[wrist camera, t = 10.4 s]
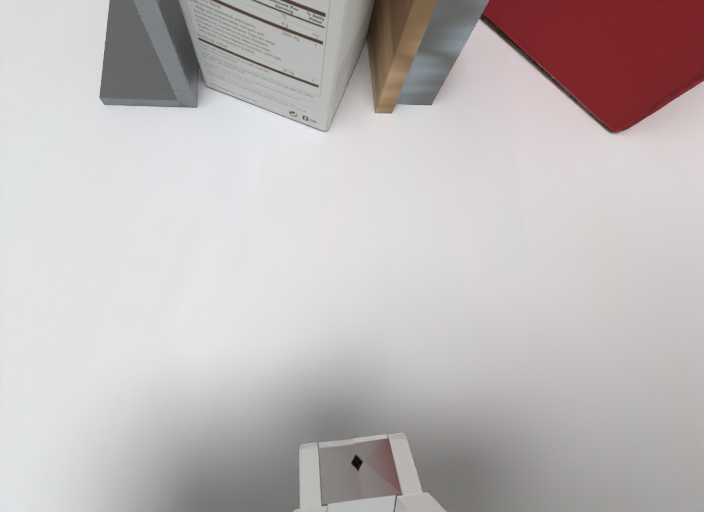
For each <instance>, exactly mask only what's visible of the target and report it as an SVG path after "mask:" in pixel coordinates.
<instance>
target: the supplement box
mask: <svg viewBox="0 0 704 512" xmlns="http://www.w3.org/2000/svg"><path fill="white" fill-rule="evenodd" d="M374 1H375V0H179V3H180V6H181V9H182V12H183V15H184V18H185V21H186V25H187V28H188V31H189V34H190V37H191V40H192V43H193V46H194V49H195V53H196V56H197V59H198V62H199V65H200V68H201V71H202V74H203V77H204V80H205V84H206V85H207V86H208V87H211V88H213V89H216V90H218V91H221V92H223V93H226V94H228V95H231V96H234V97H236V98H239V99H241V100H244V101H247V102H249V103H252V104H254V105H257V106H259V107H262V108H265V109H267V110H270V111H272V112H275V113H278V114H280V115H283V116H285V117H288V118H291V119H293V120H296V121H299V122H301V123H304V124H306V125H309V126H311V127H314V128H317V129H319V130H322V131H327V130H328V128H329V126H330V124H331V122H332V119H333V117H334V115H335V112H336V110H337V108H338V105H339V103H340V101H341V98H342V96H343V93H344V91H345V89H346V86H347V84H348V82H349V79H350V77H351V74H352V72H353V70H354V67H355V65H356V62H357V60H358V58H359V55H360V53H361V51H362V48H363V46H364V43H365V41H366V37H367V32H368V28H369V23H370V19H371V14H372V10H373V6H374Z"/></svg>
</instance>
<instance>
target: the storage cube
mask: <svg viewBox="0 0 704 512" xmlns="http://www.w3.org/2000/svg"><path fill="white" fill-rule="evenodd" d="M482 14H483V15H484V16H486V17H487V18H488V19H489V20H490V21H491V22H492V23H493V24H495V25H496V26H497V27H498V28H499V29H500V30H501V31H502V32H503V33H505V34H506V35H507V36H508V37H509V38H510V39H511V40H512V41H514V42H515V43H516V44H517V45H518V46H519V47H520V48H521V49H522V50H523V51H524V52H525V53H527V54H528V55H529V56H530V57H531V58H532V59H533V60H534V61H535V62H536V63H537V64H538V65H539V66H541V67H542V68H543V69H544V70H545V71H546V72H547V73H548V74H549V75H550V76H551V77H552V78H553V79H555V80H556V81H557V82H558V83H559V84H560V85H561V86H562V87H563V88H564V89H565V90H566V91H567V92H568V93H569V94H571V95H572V96H573V97H574V98H575V99H576V100H577V101H578V102H579V103H580V104H581V105H582V106H583V107H584V108H585V109H587V110H588V111H589V112H590V113H591V114H592V115H594V116H595V117H596V118H597V119H598V120H599V121H601V122H602V123H603V124H604V125H605V126H607V127H608V128H610V129H611V130H612V131H616V132H620V131H624V130H626V129H628V128H630V127H632V126H633V125H635V124H636V123H638V122H640V121H641V120H643V119H645V118H646V117H648V116H649V115H651V114H653V113H654V112H656V111H658V110H659V109H661V108H662V107H664V106H665V105H667V104H668V103H670V102H671V101H673V100H674V99H676V98H677V97H679V96H680V95H682V94H684V93H685V92H687V91H688V90H690V89H692V88H693V87H695V86H696V85H698V84H699V83H701V82H703V81H704V0H489V2H488V3H487V5H486V7H485V9H484V11H483V12H482Z"/></svg>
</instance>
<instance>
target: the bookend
mask: <svg viewBox="0 0 704 512" xmlns="http://www.w3.org/2000/svg"><path fill="white" fill-rule="evenodd" d="M197 80H198V59H197V56H196V53H195V49H194V46H193V43H192V40H191V37H190V34H189V31H188V28H187V25H186V21H185V18H184V15H183V12H182V9H181V6H180V3H179V0H110V3H109V13H108V22H107V32H106V41H105V51H104V60H103V70H102V79H101V89H100V99H101V101H102V102H103V103H104V104H105V105H138V106H171V107H197Z"/></svg>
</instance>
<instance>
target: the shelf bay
mask: <svg viewBox="0 0 704 512" xmlns="http://www.w3.org/2000/svg"><path fill="white" fill-rule="evenodd" d="M488 2H489V0H375V1H374V6H373V10H372V14H371V19H370V23H369V28H368V32H367V42H368V51H369V60H370V69H371V78H372V87H373V96H374V105H375V113H392V111H393V109H394V106H395V104H421V105H431V104H432V102H433V101H434V99H435V97H436V95H437V93H438V92H439V90H440V88H441V86H442V84H443V83H444V81H445V79H446V77H447V75H448V74H449V72H450V70H451V68H452V66H453V65H454V63H455V61H456V59H457V57H458V56H459V54H460V52H461V50H462V48H463V47H464V45H465V43H466V41H467V39H468V38H469V36H470V34H471V32H472V30H473V29H474V27H475V25H476V23H477V21H478V20H479V18H480V16H481V14H482V12H483V11H484V9H485V7H486V5H487V3H488Z"/></svg>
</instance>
